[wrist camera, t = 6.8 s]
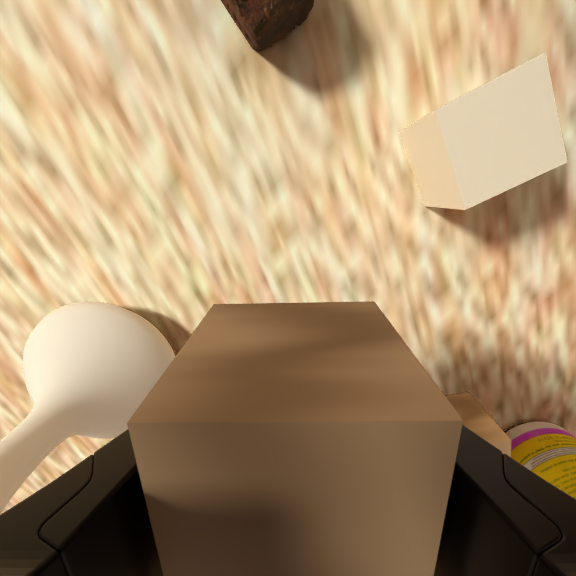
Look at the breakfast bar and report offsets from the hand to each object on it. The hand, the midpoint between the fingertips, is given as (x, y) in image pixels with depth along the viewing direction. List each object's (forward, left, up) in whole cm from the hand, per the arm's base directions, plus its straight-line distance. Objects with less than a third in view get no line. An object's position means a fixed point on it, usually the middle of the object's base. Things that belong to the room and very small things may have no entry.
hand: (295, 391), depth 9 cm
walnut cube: (0, 0, -1) cm, 1 cm away
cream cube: (-10, -8, -13) cm, 18 cm away
